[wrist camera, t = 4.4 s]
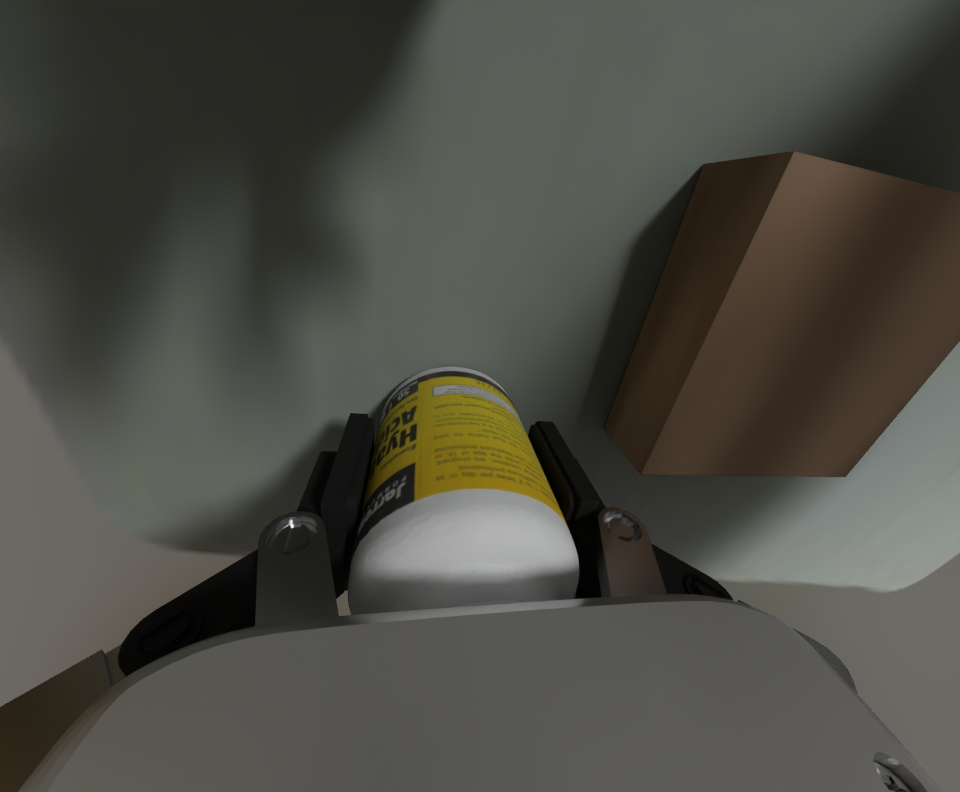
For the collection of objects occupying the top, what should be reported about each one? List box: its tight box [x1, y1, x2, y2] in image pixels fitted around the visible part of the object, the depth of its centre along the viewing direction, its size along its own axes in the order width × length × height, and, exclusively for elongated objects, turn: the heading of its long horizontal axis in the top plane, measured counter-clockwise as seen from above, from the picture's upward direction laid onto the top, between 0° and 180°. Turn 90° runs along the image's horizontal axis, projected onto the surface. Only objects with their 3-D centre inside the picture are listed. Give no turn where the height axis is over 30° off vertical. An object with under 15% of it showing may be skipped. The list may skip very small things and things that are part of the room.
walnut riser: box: [604, 151, 960, 477], centre depth 13 cm, size 10×10×3 cm
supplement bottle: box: [348, 367, 579, 615], centre depth 10 cm, size 5×5×10 cm
